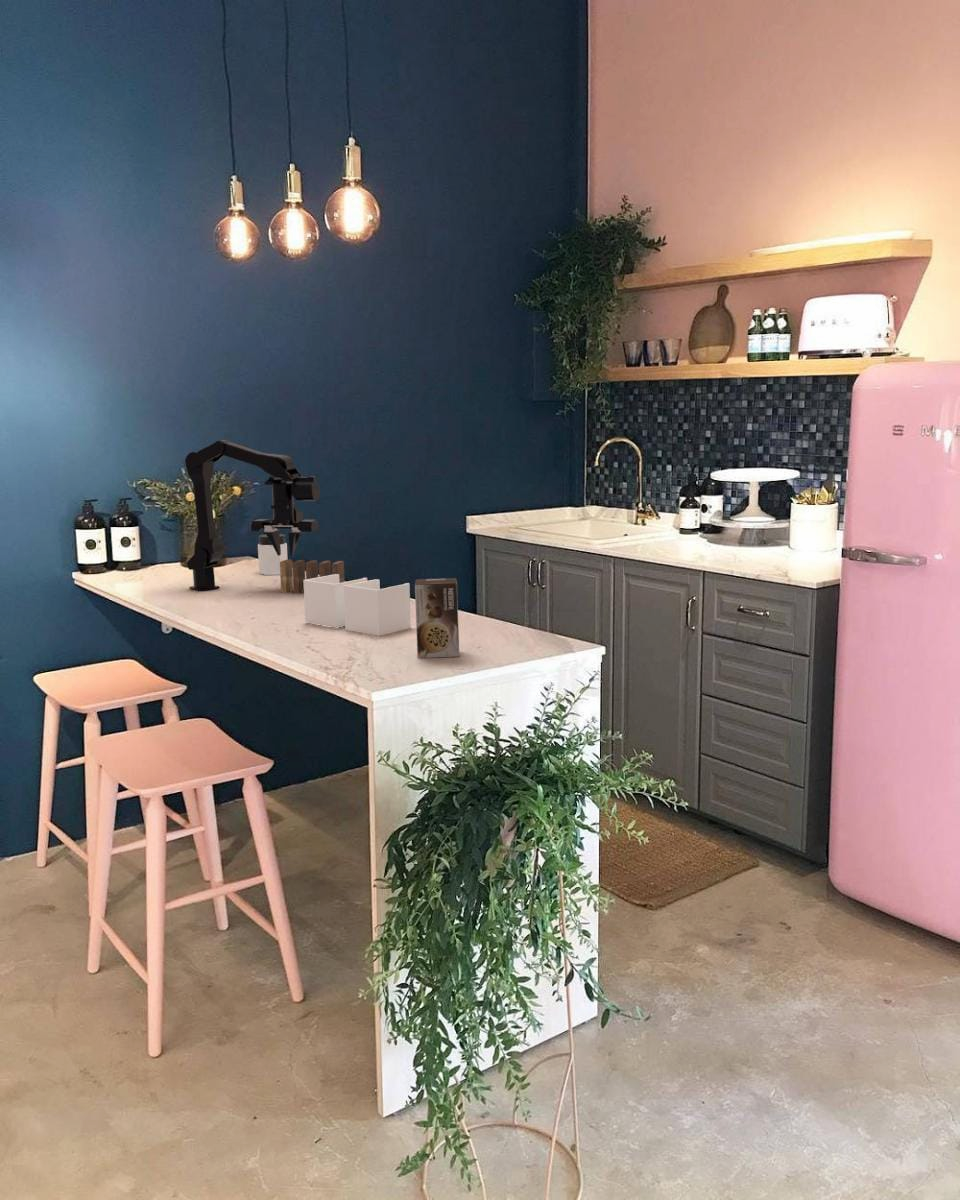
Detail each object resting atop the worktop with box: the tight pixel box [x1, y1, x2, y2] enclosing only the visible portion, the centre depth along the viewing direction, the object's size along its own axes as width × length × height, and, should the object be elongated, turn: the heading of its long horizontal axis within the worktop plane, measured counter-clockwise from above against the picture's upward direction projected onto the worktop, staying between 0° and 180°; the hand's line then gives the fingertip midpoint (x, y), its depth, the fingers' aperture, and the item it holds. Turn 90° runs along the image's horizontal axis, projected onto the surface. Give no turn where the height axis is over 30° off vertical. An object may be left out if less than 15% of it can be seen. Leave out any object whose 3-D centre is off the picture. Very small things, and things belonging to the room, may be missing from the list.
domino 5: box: [331, 560, 346, 583], centre depth 315 cm, size 2×5×9 cm, turn 165°
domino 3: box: [305, 559, 319, 580], centre depth 317 cm, size 2×5×9 cm, turn 165°
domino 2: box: [292, 559, 306, 594], centre depth 318 cm, size 2×5×9 cm, turn 165°
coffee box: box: [414, 577, 460, 659], centre depth 239 cm, size 9×6×16 cm
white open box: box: [303, 574, 412, 637], centre depth 271 cm, size 25×11×11 cm, turn 51°
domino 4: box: [318, 560, 332, 577], centre depth 316 cm, size 2×5×9 cm, turn 165°
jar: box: [257, 533, 289, 576], centre depth 352 cm, size 9×8×12 cm
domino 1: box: [279, 559, 294, 593], centre depth 320 cm, size 2×5×9 cm, turn 165°
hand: (285, 555), depth 318 cm, fingers open, 4 cm apart
